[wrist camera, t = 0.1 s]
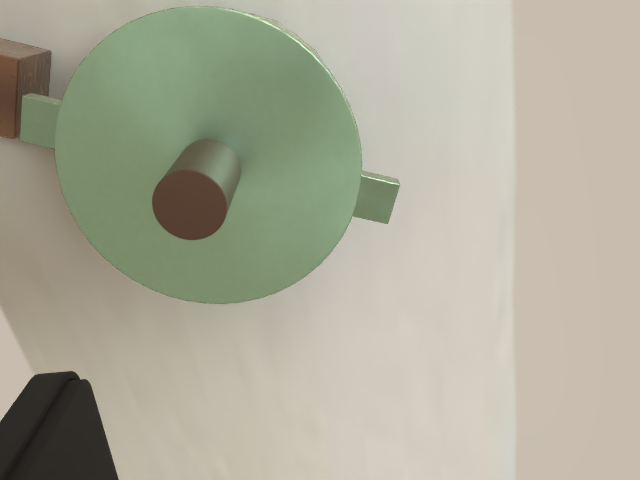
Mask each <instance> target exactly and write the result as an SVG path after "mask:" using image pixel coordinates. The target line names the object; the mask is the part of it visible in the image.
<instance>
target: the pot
mask: <svg viewBox="0 0 640 480" xmlns="http://www.w3.org/2000/svg"><path fill="white" fill-rule="evenodd" d="M232 10H234V9H232ZM244 13H245V12H244ZM247 14H250V13H247ZM250 15H253V16H256V17H259V18H262V19H264V20H266V21H268V22H270V23H272V24H274V25H276V26H278V27H280V28H282V29H283V30H285V31H286V32H288V33H289V34H291V35H292V36H294V37H295V38H297V39H298V40H300V41H301V42H302V43H303V44H304V45H305V46H306V47H308V48H309V49H310V50H311V51H312V52H313V53H314V54H315V55H316V56H317V57H318V58H319V59H320V57H319V55H318V53H317V52H316V51H315V50H314V49H313V48H312V47H311V46H309V45H308V44H307V43H305V42H304V41H303V40H302V39H301V38H299V37H298V36H297V35H296V34H294V33H293V32H291V31H290V30H288V29H287V28H286V27H284V26H283V25H282V24H280V23H279V22H278V21H276V20H272V19H268V18H265V17H261V16H258V15H255V14H250ZM320 60H321V59H320ZM321 61H322V60H321ZM322 63H323V62H322ZM61 102H62V100H59V99H55V98H51V97H47V96H42V95H38V94H34V93H29V94H26V95H24V96H22V111H21V129H20V141H23V142H27V143H32V144H36V145H40V146H45V147H49V148H54V149H55V130H56V123H57V116H58V112H59V109H60V105H61ZM399 186H400V183H399V181H398V179H396V178H391V177H387V176H383V175H379V174H374V173H370V172H366V171H362V175H361V186H360V191H359V196H358V200H357V204H356V207H355V210H354V213H353V215H352V216H354V217H359V218H363V219H368V220H372V221H376V222H381V223H385V224H388V222H389V219H390V216H391V212H392V209H393V206H394V203H395V199H396V196H397V193H398V190H399Z"/></svg>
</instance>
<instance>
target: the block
mask: <svg viewBox="0 0 640 480" xmlns="http://www.w3.org/2000/svg"><path fill="white" fill-rule="evenodd" d="M50 63H51V51H50V50H46V49H42V48H38V47H34V46H30V45H26V44H22V43H17V42H13V41H9V40H5V39H1V38H0V136H2V137H7V138H11V139H15V138H17V137H19V136H20V129H21V111H22V96H24V95H26V94H29V93H34V94H38V95H42V96H47V97H48V91H49V77H50Z"/></svg>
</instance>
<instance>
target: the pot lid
mask: <svg viewBox="0 0 640 480" xmlns="http://www.w3.org/2000/svg"><path fill="white" fill-rule="evenodd" d="M55 160H56V168H57V174H58V178H59V182H60V186H61V189H62V193H63V195H64V198H65V200H66V203H67V205H68V208H69V210H70V212H71V214H72V216H73V217H74V219H75V221H76V223H77V224H78V226H79V228H80V229H81V231H82V232H83V233H84V235H85V236H86V237H87V239H88V240H89V242H90V243H91V244H92V245H93V246H94V247H95V248H96V249H97V250H98V252H99V253H100V254H101V255H102V256H103V257H104V258H105V259H106V260H108V261H109V262H110V263H111V264H112V265H113V266H115V267H116V268H117V269H118V270H120V271H121V272H123V273H124V274H125V275H127V276H128V277H130V278H131V279H133V280H134V281H136V282H138V283H140V284H142V285H144V286H146V287H148V288H150V289H152V290H155V291H157V292H160V293H162V294H165V295H167V296H171V297H175V298H178V299H182V300H186V301H193V302H199V303H213V304H226V303H238V302H244V301H249V300H254V299H259V298H262V297H265V296H268V295H271V294H274V293H276V292H278V291H281V290H283V289H285V288H287V287H289V286H291V285H293V284H294V283H296V282H297V281H299V280H301V279H302V278H304V277H305V276H307V275H308V274H309V273H310V272H311V271H313V270H314V269H315V268H316V267H317V266H319V265H320V264H321V263H322V262H323V261H324V259H325V258H326V257H327V256H328V255H329V254H330V253H331V252H332V251H333V249H334V248H335V246H336V245H337V243H338V242H339V241H340V239H341V238H342V236H343V234H344V232H345V231H346V229H347V227H348V225H349V223H350V221H351V218H352V215H353V213H354V210H355V207H356V204H357V200H358V196H359V191H360V186H361V175H362V155H361V144H360V139H359V134H358V129H357V125H356V122H355V119H354V116H353V113H352V110H351V107H350V105H349V103H348V101H347V99H346V97H345V95H344V93H343V91H342V89H341V87H340V85H339V84H338V82H337V81H336V80H335V78H334V77H333V75H332V74H331V72H330V71H329V69H328V68H327V67H326V66H325V65H324V64H323V63H322V61H321V60H320V59H319V58H318V57H317V56H316V55H315V54H314V53H313V52H312V51H311V50H310V49H309V48H308V47H306V46H305V45H304V44H303V43H302V42H301V41H300V40H298V39H297V38H295V37H294V36H292V35H291V34H289V33H288V32H286V31H285V30H283V29H282V28H280V27H278V26H276V25H274V24H272V23H270V22H268V21H266V20H264V19H262V18H259V17H256V16H253V15H250V14H247V13H244V12H241V11H237V10H232V9H226V8H221V7H210V6H189V7H178V8H171V9H167V10H163V11H159V12H155V13H151V14H148V15H146V16H143V17H141V18H138V19H136V20H133V21H131V22H129V23H128V24H126V25H124V26H123V27H121V28H119V29H117V30H116V31H114V32H113V33H111V34H110V35H109V36H108V37H106V38H105V39H104V40H103V41H101V42H100V43H99V44H98V45H97V46H96V47H95V48H94V49H93V50H92V51H91V52H90V53H89V54H88V56H87V57H86V58H85V59H84V60H83V61H82V63H81V64H80V66H79V67H78V69H77V70H76V72H75V73H74V75H73V76H72V78H71V80H70V82H69V85H68V87H67V89H66V91H65V93H64V95H63V98H62V102H61V105H60V109H59V112H58V116H57V123H56V130H55Z"/></svg>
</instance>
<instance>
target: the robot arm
mask: <svg viewBox="0 0 640 480" xmlns="http://www.w3.org/2000/svg"><path fill="white" fill-rule="evenodd" d="M0 480H119V479H118V476H117V472H116V469H115V466H114V462H113V459H112V455H111V452H110V448H109V445H108V442H107V438H106V435H105V431H104V428H103V425H102V421H101V418H100V414H99V411H98V407H97V404H96V401H95V397H94V394H93V390H92V387H91V385H90V383H89V381H88V380H86V379H82V380H80V378H79V376H78V375H77V374H76V373H75V372H73V371H68V372H56V373H45V374H37V375H35V376H34V377H32V379H31V380H30V381H29V382H28V384H27V385H26V387H25V388H24V389H23V391H22V392H21V394H20V395H19V397H18V398H17V399H16V401H15V402H14V403H13V405H12V406H11V408H10V409H9V410H8V412H7V413H6V414H5V416H4V417H3V419H2V420H1V422H0Z"/></svg>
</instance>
